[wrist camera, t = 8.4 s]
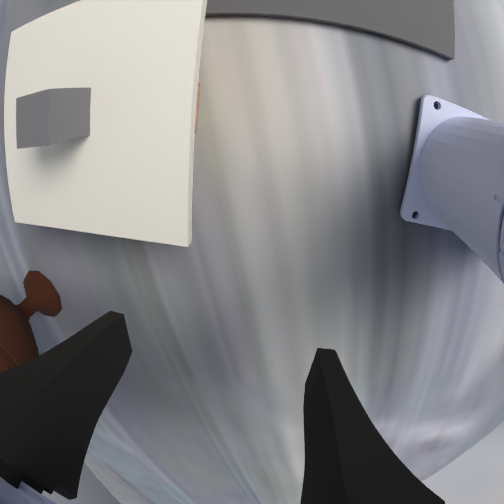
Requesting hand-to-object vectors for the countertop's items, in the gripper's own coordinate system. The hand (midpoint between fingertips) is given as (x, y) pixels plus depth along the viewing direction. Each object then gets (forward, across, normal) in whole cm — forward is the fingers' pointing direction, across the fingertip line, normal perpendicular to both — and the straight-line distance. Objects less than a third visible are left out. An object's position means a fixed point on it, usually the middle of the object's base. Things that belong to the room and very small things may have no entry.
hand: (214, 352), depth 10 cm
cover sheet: (+5, +9, -8) cm, 13 cm away
